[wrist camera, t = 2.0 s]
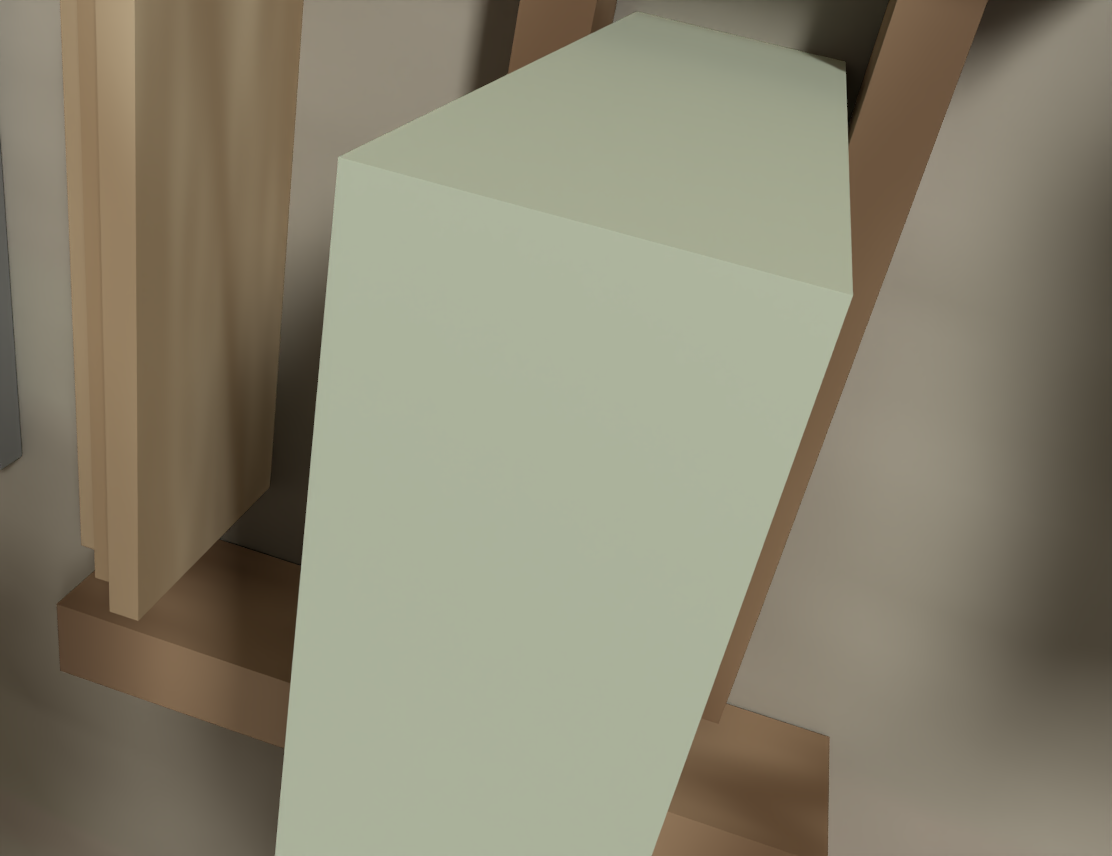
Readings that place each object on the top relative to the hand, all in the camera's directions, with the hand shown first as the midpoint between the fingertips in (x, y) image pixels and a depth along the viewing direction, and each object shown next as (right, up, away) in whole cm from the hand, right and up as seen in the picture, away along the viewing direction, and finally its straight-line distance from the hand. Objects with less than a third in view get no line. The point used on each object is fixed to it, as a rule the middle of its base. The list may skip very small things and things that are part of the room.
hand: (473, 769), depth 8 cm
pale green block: (+2, +4, +8) cm, 10 cm away
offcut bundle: (-5, +6, +9) cm, 12 cm away
